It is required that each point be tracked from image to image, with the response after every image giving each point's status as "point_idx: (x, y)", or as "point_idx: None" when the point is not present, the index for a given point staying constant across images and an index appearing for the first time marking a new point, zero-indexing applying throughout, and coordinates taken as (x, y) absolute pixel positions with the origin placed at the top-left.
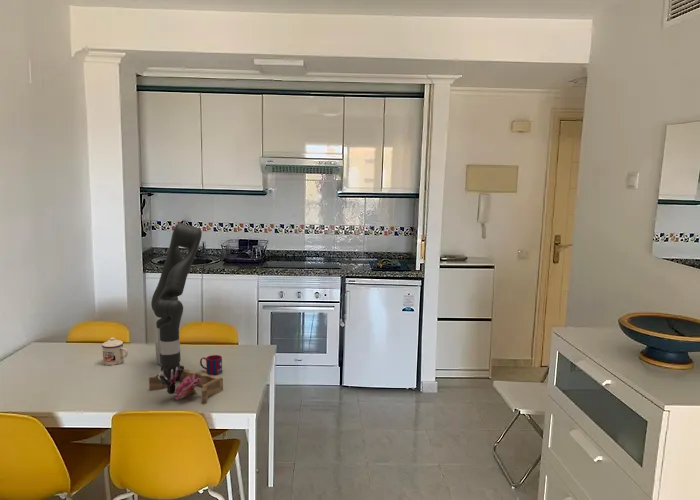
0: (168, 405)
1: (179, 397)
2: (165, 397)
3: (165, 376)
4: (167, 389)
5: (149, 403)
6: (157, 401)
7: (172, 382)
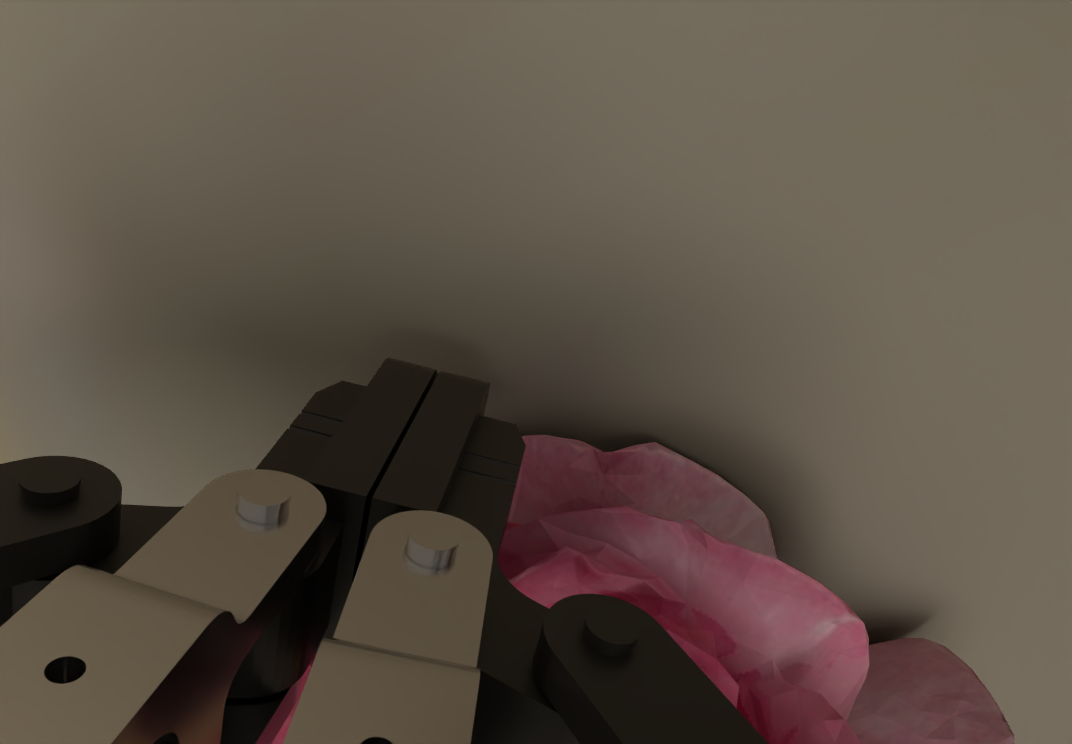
0: (133, 479)
1: None
2: (456, 208)
3: (10, 690)
4: (288, 435)
5: (23, 10)
6: (194, 143)
7: (261, 730)
